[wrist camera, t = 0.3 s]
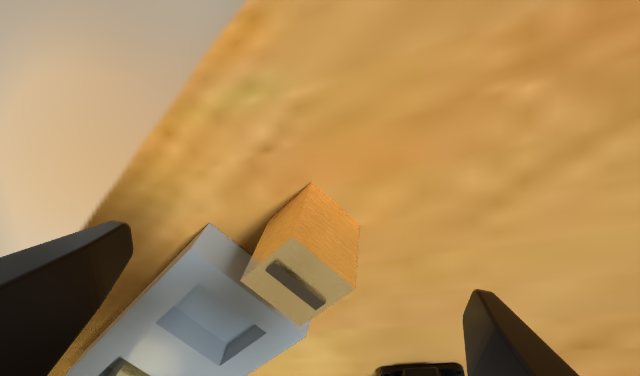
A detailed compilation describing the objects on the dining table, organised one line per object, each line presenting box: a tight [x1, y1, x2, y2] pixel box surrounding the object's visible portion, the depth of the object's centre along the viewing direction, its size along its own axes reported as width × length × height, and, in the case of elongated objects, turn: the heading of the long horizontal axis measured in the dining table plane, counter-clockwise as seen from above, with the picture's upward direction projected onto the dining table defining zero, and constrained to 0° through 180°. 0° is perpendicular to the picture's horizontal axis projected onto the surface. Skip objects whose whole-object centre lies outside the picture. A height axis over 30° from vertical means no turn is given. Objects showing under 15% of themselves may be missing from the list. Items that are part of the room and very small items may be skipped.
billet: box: [240, 182, 360, 326], centre depth 22 cm, size 4×4×6 cm
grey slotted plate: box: [64, 223, 310, 376], centre depth 30 cm, size 22×10×3 cm, turn 137°
